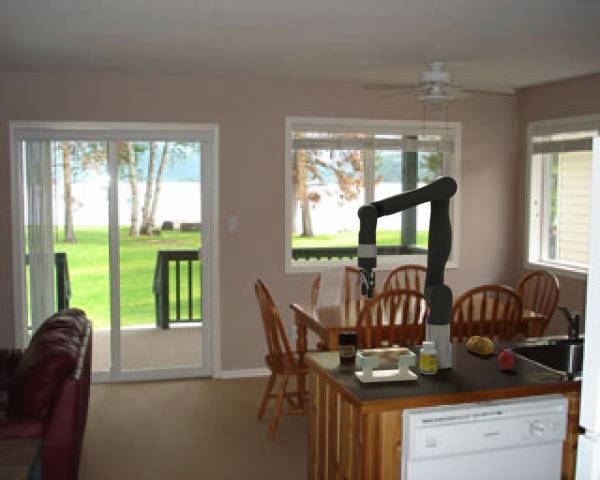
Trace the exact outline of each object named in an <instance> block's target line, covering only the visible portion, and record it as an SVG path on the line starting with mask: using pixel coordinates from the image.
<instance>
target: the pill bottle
mask: <svg viewBox="0 0 600 480" xmlns="http://www.w3.org/2000/svg"><path fill="white" fill-rule="evenodd" d="M434 347H435V343H434V342H430V341H426V340H425V341H422V348H420V350H419V372H420V373H421V374H424V375H435V374H436V373H437V372H438V369H437V350H436V349H434Z"/></svg>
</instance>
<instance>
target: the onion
mask: <svg viewBox="0 0 600 480" xmlns="http://www.w3.org/2000/svg"><path fill="white" fill-rule="evenodd" d="M497 361H498V364H499V365H500V367H501V368H502V369H503V370H504V371H507V370H509V369H510V368H511V367H513V365H514V363H515V358H514V355H512V354H511V352H509V351H508V350H507V349H504V351H503V352H501V354H500V355H499V356H498V359H497Z"/></svg>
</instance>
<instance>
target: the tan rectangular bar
mask: <svg viewBox="0 0 600 480" xmlns="http://www.w3.org/2000/svg"><path fill="white" fill-rule="evenodd" d="M410 351H411V350H410V349H408V348H407V347H392V348H391V347H390V348H374V349H373V348H372V349H362V352H363V357H377V356H378V357H379V365H381V364H396V363H399V355H410Z"/></svg>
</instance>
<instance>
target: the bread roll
mask: <svg viewBox="0 0 600 480" xmlns="http://www.w3.org/2000/svg"><path fill="white" fill-rule="evenodd" d="M465 347H466V349H467V350H468V351H469V352H472V353H473V354H475V355H480V356H486V355H491V354H492V353H493V352H494V349H495V347H494V343H493V341H491V340H490V339H489V338H486V337H482V336H478V335H474V336H471V337H470V338H469V339H468V341H467V343H466V345H465Z"/></svg>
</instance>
